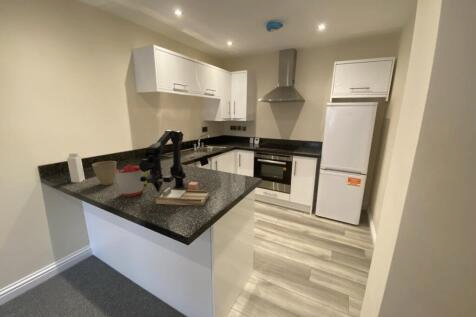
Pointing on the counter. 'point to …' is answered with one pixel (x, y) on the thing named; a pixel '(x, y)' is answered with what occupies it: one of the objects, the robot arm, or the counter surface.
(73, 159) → the milk
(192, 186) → the block
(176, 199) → the puzzle board
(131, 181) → the citrus juicer
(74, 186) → the counter surface
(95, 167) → the plant pot
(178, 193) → the slide cover
